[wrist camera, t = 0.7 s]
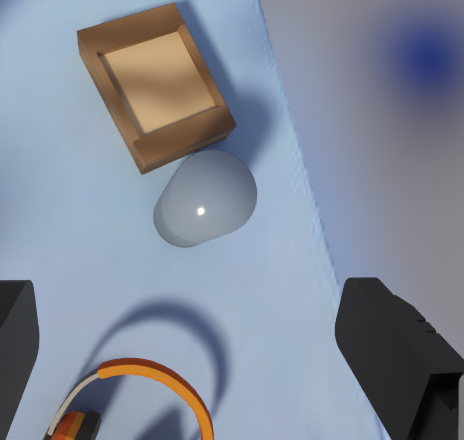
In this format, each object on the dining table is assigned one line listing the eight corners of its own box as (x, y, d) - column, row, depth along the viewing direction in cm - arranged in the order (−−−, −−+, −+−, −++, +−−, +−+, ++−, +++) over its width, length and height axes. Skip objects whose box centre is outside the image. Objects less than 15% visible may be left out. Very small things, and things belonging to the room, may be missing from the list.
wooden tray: (79, 53, 36) (76, 30, 33) (168, 26, 39) (174, 2, 36) (141, 174, 36) (145, 164, 33) (225, 138, 39) (236, 125, 36)
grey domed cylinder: (141, 226, 35) (156, 203, 25) (174, 174, 37) (201, 133, 27) (195, 259, 36) (231, 250, 26) (225, 207, 38) (271, 180, 28)
